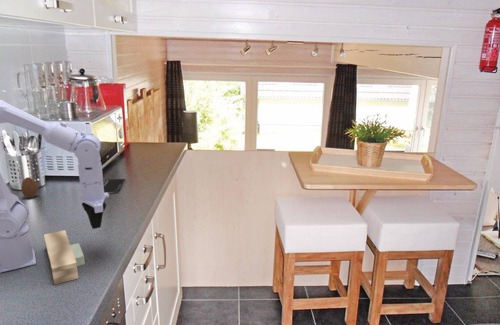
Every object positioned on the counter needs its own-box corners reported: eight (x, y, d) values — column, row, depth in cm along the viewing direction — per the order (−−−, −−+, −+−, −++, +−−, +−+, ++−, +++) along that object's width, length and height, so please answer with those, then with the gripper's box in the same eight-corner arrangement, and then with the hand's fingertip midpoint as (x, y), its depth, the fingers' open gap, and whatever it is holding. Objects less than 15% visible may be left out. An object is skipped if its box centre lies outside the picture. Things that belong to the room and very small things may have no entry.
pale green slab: (56, 271, 102) (54, 263, 101) (52, 257, 109) (51, 249, 108) (84, 264, 106) (83, 256, 105) (79, 251, 112) (78, 243, 111)
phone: (96, 192, 153) (107, 179, 167) (96, 194, 153) (107, 181, 167) (117, 192, 153) (126, 178, 168) (117, 194, 154) (126, 181, 168)
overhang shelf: (54, 284, 97) (52, 268, 95) (46, 248, 113) (43, 234, 112) (78, 278, 100) (76, 262, 98) (66, 244, 116) (65, 230, 114)
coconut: (20, 198, 147) (16, 178, 145) (32, 194, 152) (29, 174, 149) (29, 201, 145) (26, 180, 143) (41, 196, 149) (38, 176, 147)
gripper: (113, 186, 101) (117, 234, 105) (101, 170, 113) (105, 214, 117) (84, 191, 97) (89, 241, 101) (74, 174, 109) (79, 219, 113)
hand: (96, 227), depth 109 cm, fingers closed
